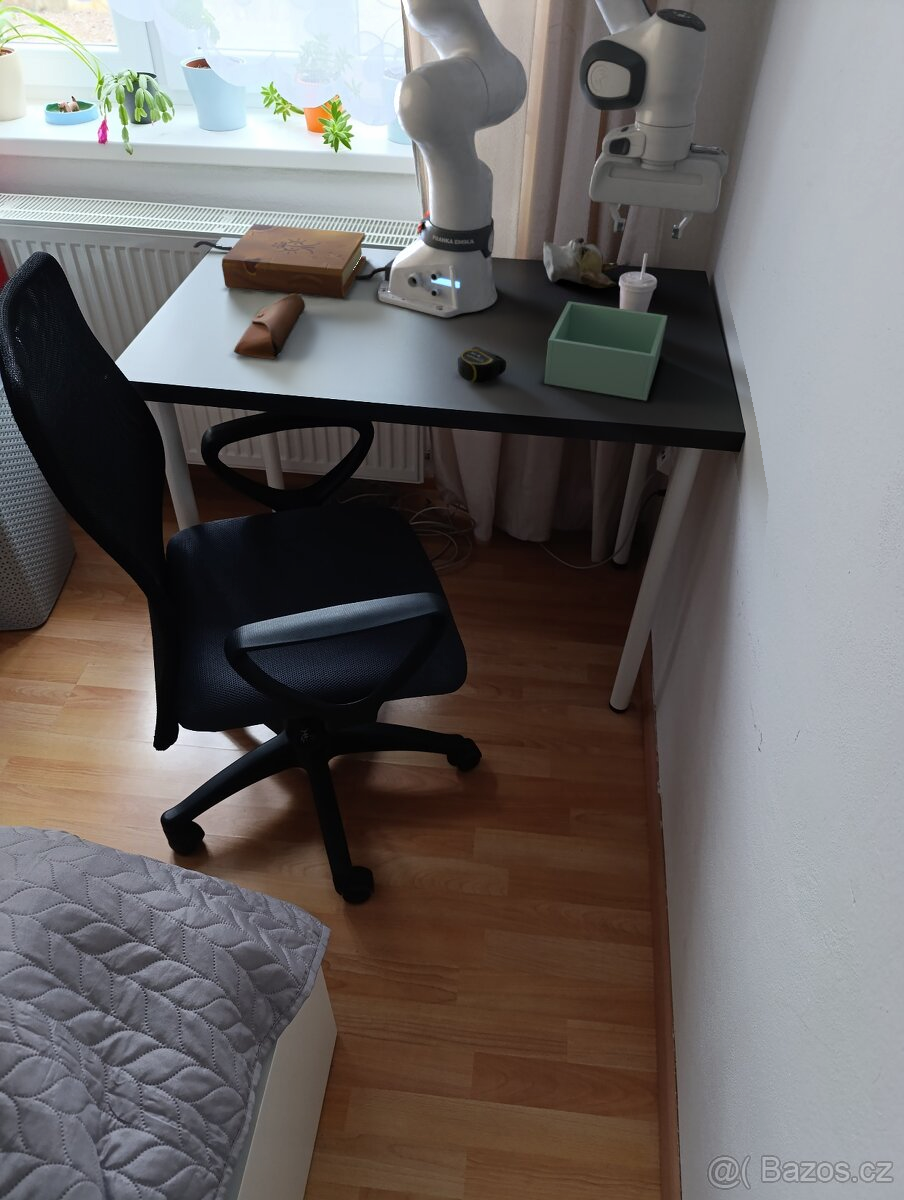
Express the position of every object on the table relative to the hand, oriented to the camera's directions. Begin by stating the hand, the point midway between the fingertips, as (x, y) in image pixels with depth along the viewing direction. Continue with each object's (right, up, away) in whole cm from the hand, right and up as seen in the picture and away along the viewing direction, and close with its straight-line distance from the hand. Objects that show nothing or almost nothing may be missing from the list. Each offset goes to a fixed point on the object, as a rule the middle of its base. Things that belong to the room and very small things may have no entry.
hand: (647, 234), depth 136 cm
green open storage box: (-7, -22, +2) cm, 23 cm away
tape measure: (-27, -23, +1) cm, 36 cm away
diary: (-62, +4, +28) cm, 69 cm away
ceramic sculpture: (-7, +2, +27) cm, 28 cm away
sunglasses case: (-64, -13, +11) cm, 66 cm away
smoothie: (0, -12, +12) cm, 17 cm away
